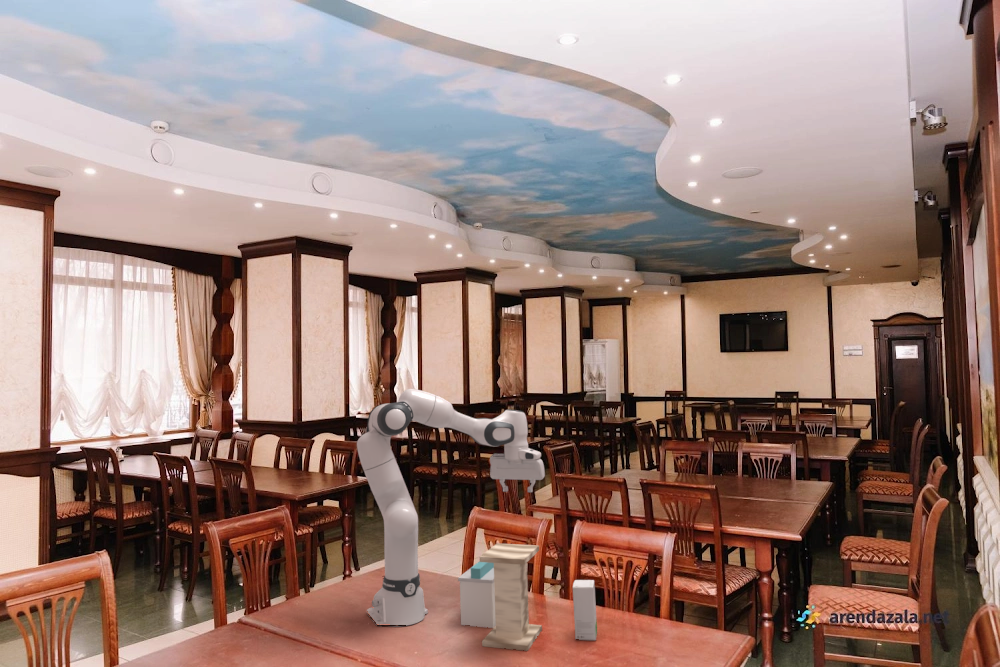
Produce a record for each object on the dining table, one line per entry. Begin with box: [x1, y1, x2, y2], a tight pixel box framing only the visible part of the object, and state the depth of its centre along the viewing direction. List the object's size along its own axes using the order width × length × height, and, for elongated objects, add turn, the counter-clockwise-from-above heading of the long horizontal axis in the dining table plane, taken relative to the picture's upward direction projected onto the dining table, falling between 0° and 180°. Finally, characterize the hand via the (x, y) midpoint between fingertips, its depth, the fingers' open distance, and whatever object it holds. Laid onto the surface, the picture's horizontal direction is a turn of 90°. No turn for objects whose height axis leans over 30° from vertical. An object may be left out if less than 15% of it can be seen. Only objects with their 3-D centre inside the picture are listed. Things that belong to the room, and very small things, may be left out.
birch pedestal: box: [479, 543, 543, 652], centre depth 202 cm, size 16×14×26 cm
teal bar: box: [470, 560, 494, 579], centre depth 224 cm, size 24×3×3 cm, turn 161°
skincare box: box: [572, 579, 598, 641], centre depth 202 cm, size 8×7×16 cm
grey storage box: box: [457, 562, 496, 629], centre depth 220 cm, size 17×12×15 cm
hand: (517, 491), depth 242 cm, fingers open, 8 cm apart
